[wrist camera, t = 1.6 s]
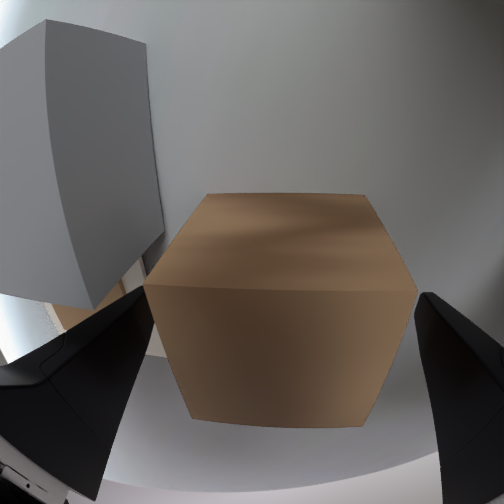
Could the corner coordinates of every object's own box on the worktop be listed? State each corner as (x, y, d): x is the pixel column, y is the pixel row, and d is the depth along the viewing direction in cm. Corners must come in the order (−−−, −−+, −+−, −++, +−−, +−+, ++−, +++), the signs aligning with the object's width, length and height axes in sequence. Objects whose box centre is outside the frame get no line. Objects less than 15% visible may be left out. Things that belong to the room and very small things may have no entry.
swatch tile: (132, 215, 11) (125, 222, 11) (171, 354, 15) (168, 362, 15) (15, 222, 12) (8, 227, 12) (63, 334, 16) (59, 340, 16)
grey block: (145, 43, 8) (45, 19, 4) (164, 230, 11) (94, 310, 7) (17, 92, 9) (-69, 111, 4) (41, 232, 12) (-29, 286, 8)
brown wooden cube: (363, 193, 10) (418, 290, 5) (347, 315, 13) (362, 426, 8) (208, 193, 11) (142, 284, 6) (223, 311, 13) (192, 418, 9)
